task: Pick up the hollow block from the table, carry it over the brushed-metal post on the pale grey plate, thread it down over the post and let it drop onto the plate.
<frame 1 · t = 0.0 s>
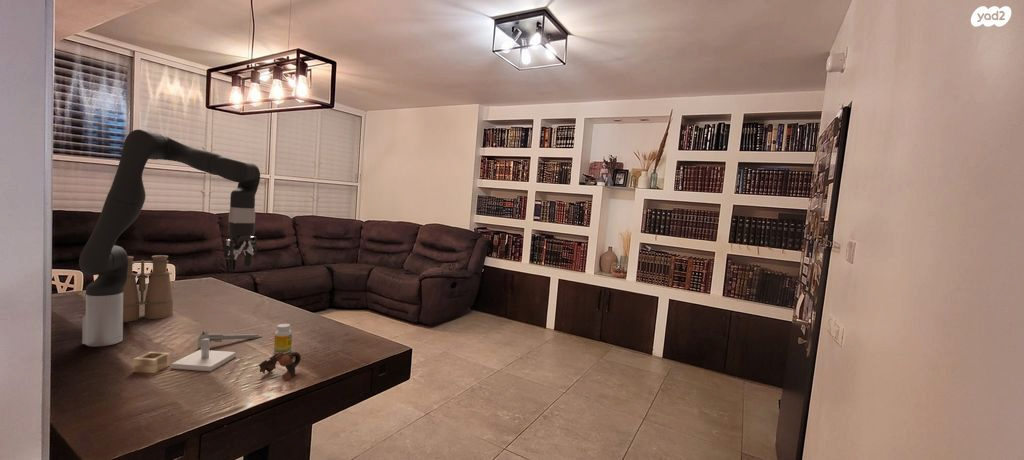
hand: (240, 268, 144), 29 cm above the table, tool pointing down, fingers open, 8 cm apart
caliper: (231, 343, 153), on the table
brown curved piece: (281, 375, 131), on the table
hollow block: (152, 368, 128), on the table
supplement bottle: (282, 352, 149), on the table
binoculars: (141, 317, 172), on the table
post: (205, 362, 135), on the table
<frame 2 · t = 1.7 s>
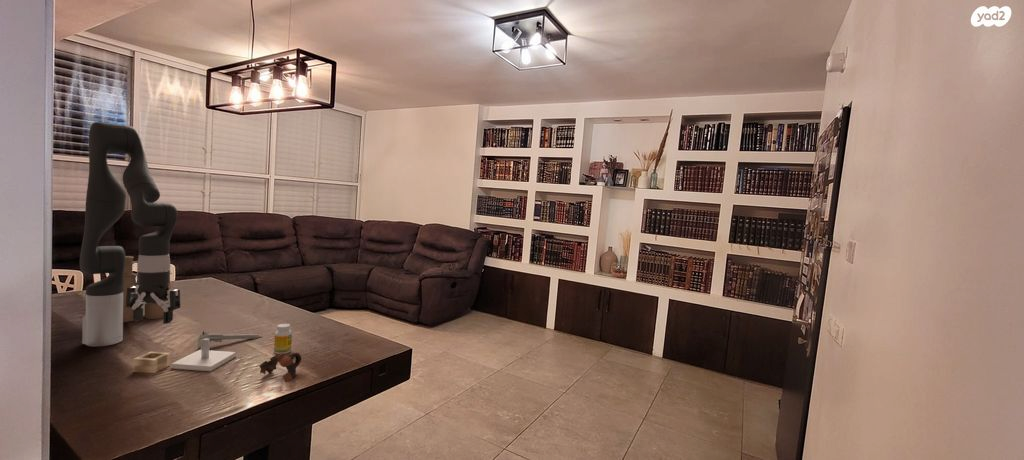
hand: (153, 322, 127), 14 cm above the table, tool pointing down, fingers open, 8 cm apart
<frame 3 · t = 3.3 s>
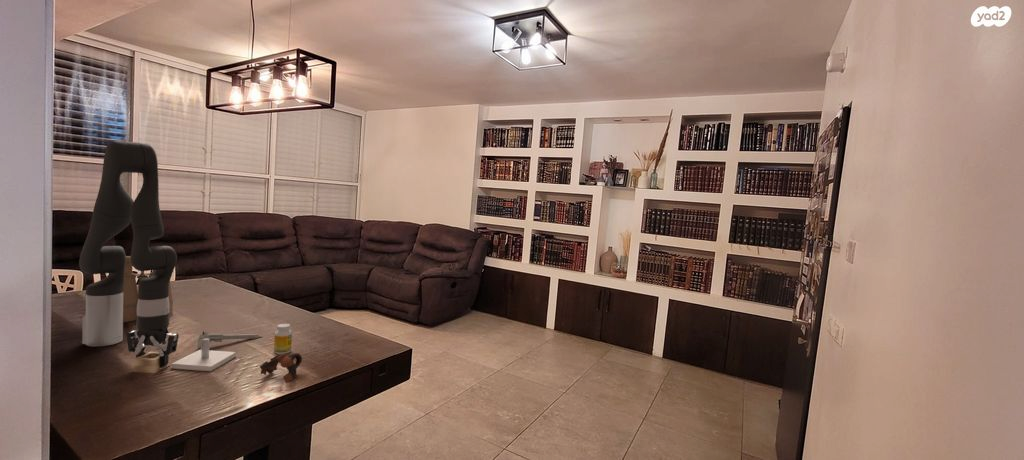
hand: (152, 365, 128), 1 cm above the table, tool pointing down, fingers closed on hollow block, 6 cm apart
hollow block: (152, 368, 128), on the table, touching gripper
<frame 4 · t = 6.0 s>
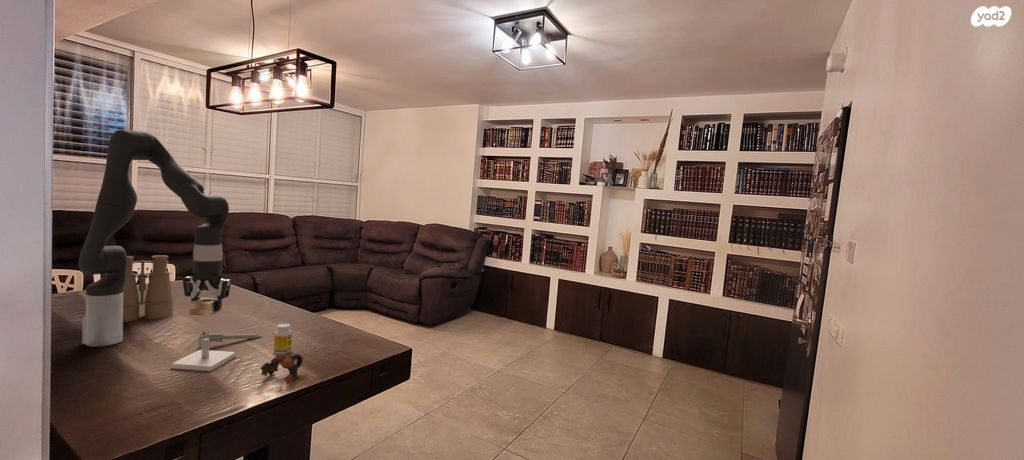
hand: (206, 310, 134), 17 cm above the table, tool pointing down, fingers closed on hollow block, 6 cm apart
hollow block: (206, 312, 134), point 16 cm above the table, touching gripper
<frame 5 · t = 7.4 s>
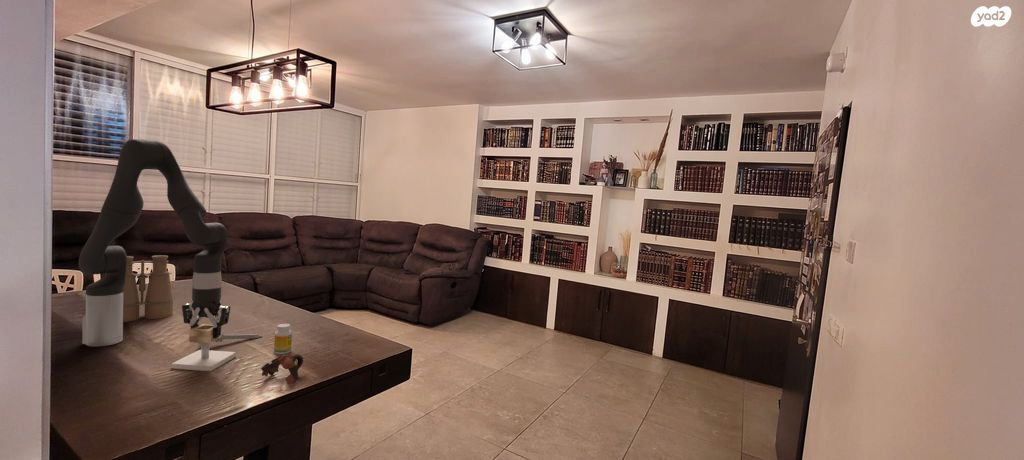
hand: (205, 336, 135), 8 cm above the table, tool pointing down, fingers closed on hollow block, 6 cm apart
hollow block: (205, 339, 135), point 8 cm above the table, touching gripper
when the fingers open (5 cm above the table, at t = 8.7 s): hollow block drops 2 cm, resting on post.
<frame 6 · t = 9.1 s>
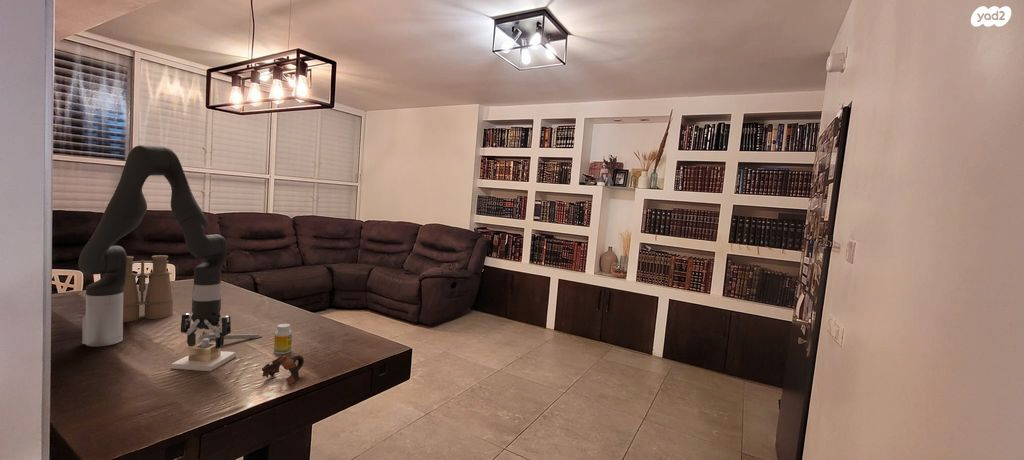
hand: (205, 346, 135), 5 cm above the table, tool pointing down, fingers open, 8 cm apart
hollow block: (204, 357, 135), point 1 cm above the table, touching post
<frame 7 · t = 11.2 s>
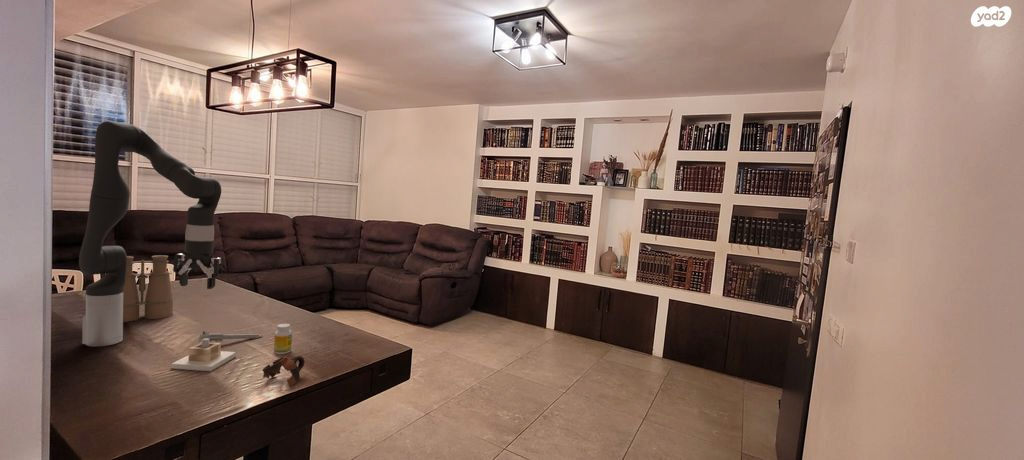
hand: (197, 287, 138), 23 cm above the table, tool pointing down, fingers open, 8 cm apart
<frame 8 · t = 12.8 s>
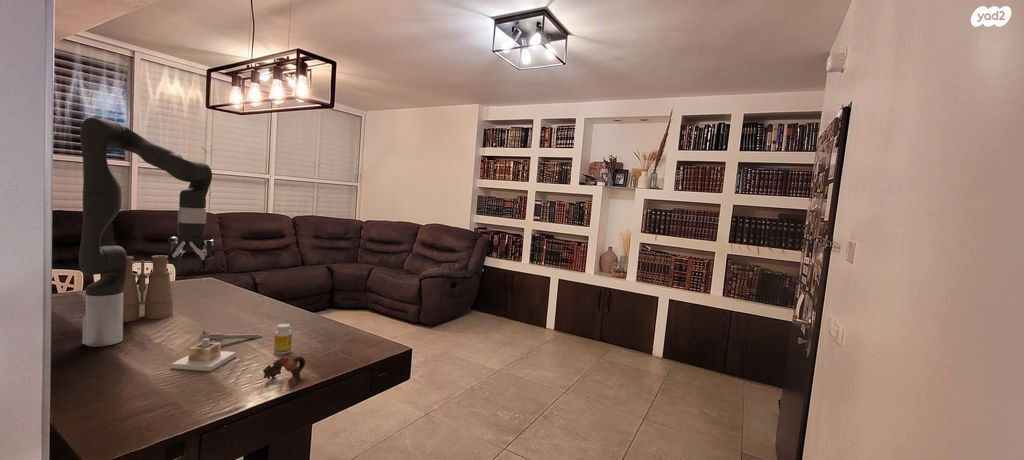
hand: (191, 269, 141), 28 cm above the table, tool pointing down, fingers open, 8 cm apart
at the end: hollow block 0.1 cm from the post (horizontally); hollow block point 1.5 cm above the table; the gripper is holding nothing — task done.
